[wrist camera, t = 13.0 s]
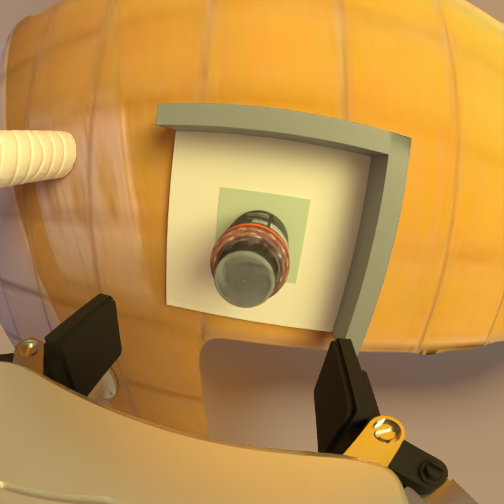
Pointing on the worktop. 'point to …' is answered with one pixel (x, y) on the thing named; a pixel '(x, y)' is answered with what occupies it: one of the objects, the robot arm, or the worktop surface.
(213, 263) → the supplement bottle
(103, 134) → the worktop surface
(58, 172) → the water bottle
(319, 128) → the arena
